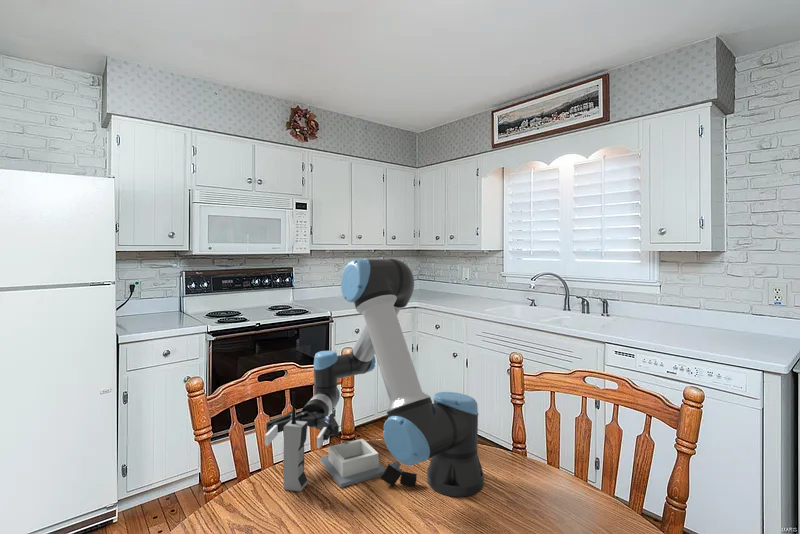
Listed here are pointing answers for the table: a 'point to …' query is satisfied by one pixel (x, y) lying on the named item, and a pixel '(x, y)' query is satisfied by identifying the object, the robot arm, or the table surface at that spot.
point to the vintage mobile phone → (294, 453)
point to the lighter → (398, 475)
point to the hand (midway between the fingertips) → (291, 441)
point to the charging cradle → (352, 462)
